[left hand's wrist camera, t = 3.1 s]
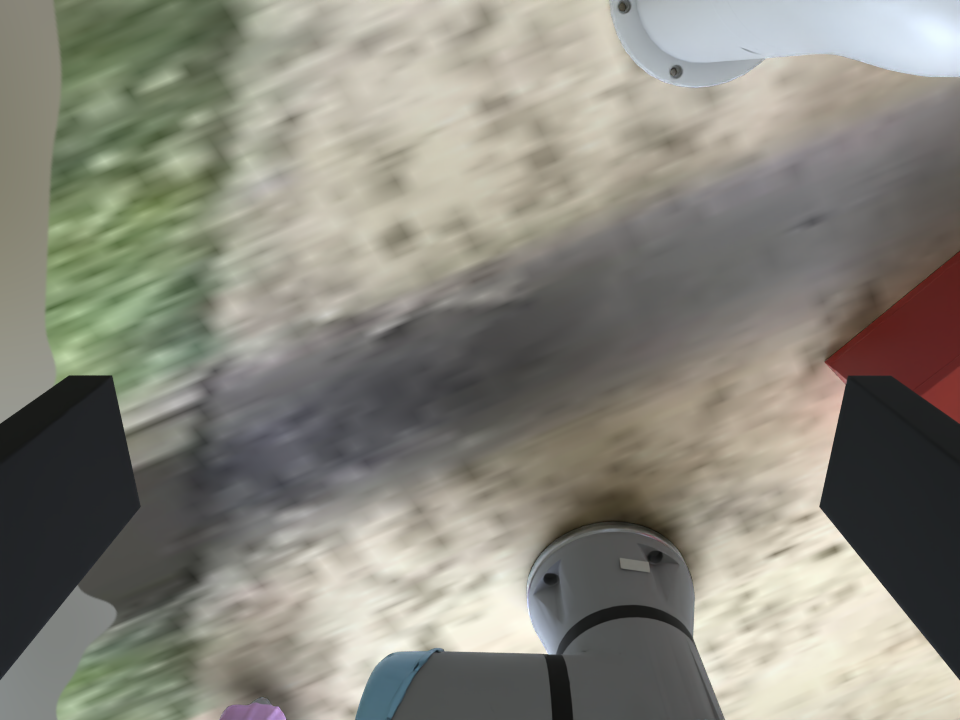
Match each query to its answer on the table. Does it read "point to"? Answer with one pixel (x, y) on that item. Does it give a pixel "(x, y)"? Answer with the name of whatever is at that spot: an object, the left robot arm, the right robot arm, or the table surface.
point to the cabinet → (914, 342)
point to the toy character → (253, 711)
